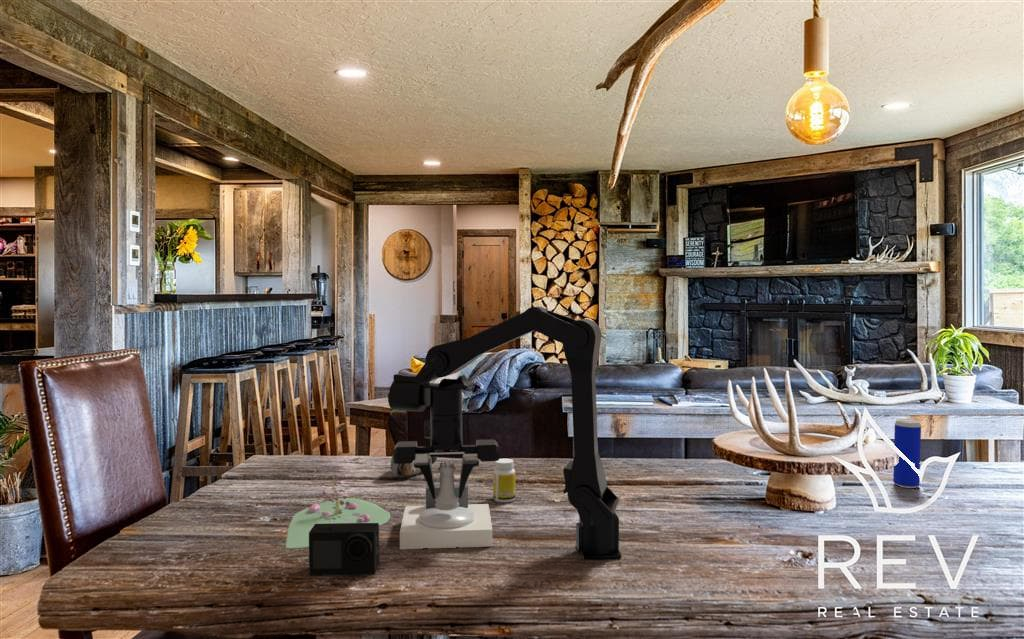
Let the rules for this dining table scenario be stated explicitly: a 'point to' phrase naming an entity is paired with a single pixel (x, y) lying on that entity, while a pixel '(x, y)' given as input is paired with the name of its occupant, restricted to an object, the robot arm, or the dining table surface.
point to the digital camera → (344, 549)
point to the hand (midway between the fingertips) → (447, 498)
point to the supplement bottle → (504, 481)
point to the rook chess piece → (447, 488)
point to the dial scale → (446, 524)
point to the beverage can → (907, 452)
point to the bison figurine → (407, 468)
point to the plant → (332, 516)
